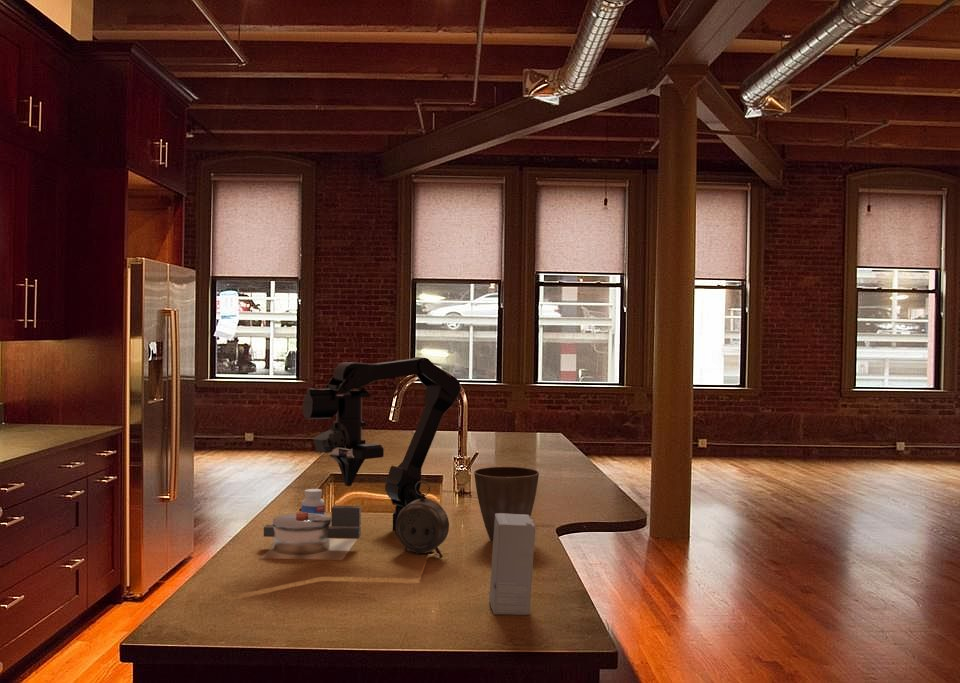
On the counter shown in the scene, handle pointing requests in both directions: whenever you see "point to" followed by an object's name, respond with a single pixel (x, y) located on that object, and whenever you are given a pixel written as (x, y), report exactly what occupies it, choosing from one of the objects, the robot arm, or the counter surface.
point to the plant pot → (505, 492)
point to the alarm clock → (422, 525)
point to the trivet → (334, 553)
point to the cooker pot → (307, 538)
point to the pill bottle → (313, 502)
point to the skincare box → (512, 564)
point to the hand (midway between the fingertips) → (348, 485)
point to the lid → (320, 519)
